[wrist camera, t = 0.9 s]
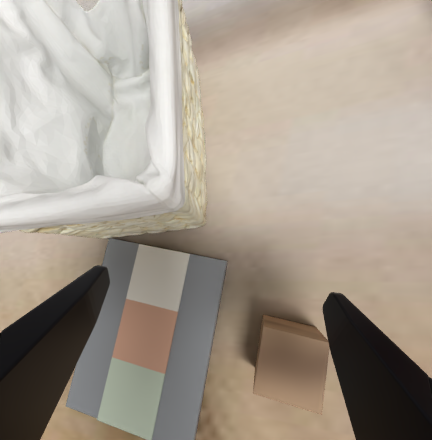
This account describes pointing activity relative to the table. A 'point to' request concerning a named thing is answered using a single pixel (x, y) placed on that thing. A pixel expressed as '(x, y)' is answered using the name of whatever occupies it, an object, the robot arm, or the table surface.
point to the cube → (291, 364)
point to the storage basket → (99, 119)
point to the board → (150, 342)
